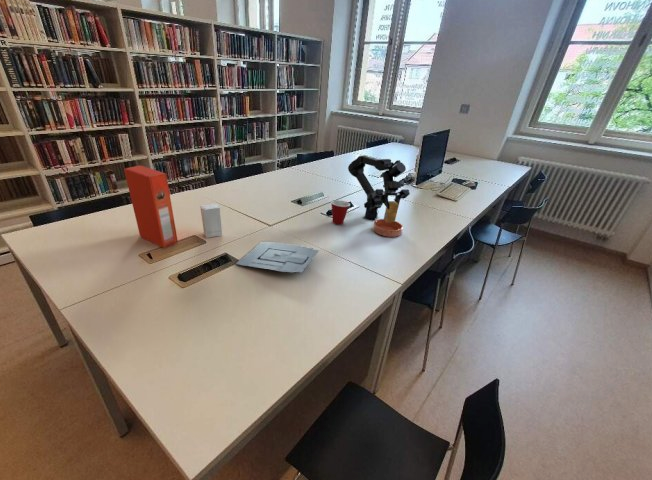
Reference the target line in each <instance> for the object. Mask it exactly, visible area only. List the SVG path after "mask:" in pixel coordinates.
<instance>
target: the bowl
mask: <svg viewBox="0 0 652 480" xmlns="http://www.w3.org/2000/svg"><path fill="white" fill-rule="evenodd" d="M372 230H373V232H374V233H375V234H377V235H380V236H382V237H383V236H384V237H389V238H395V237H399V236H401V235H402V233H403V224H401V222H399V221H397V220H395V222H386V221H385V220H384V218H379V219H375V220H374V221H373V225H372Z"/></svg>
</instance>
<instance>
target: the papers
mask: <svg viewBox="0 0 652 480" xmlns="http://www.w3.org/2000/svg"><path fill="white" fill-rule="evenodd" d="M319 251H320V249H314V248H313V247H307V246H304V245H298V244H293V243H292V244H291V243H283V242H276V241H263V240H261V241H260V242H259V243H258V244H257V245H256V246H254V248H253V249H252V250H251V251H250V252H248V253H247V254H246V255H245V256H243V257H242V258H240V259H239V260H238V261H236V262H235V265H239V266H244V267H252V268H258V269H265V270H271V271H276V272H281V273H286V272H287V273H291V274H292V273H294V272H296V273H303V272H304V271H305V269H306V268H307V267H308V265H309V264H310V263H311V262H312V260H313V259H314V258H315V257H316V255H317V254H318V253H319Z"/></svg>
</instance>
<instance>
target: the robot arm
mask: <svg viewBox="0 0 652 480" xmlns="http://www.w3.org/2000/svg"><path fill="white" fill-rule="evenodd" d="M366 165H368V166H371V167H373V168H375V169H376V170H377V171H379V172H382V173H381V174H380V175H379V177H380V178H382V179H383V180H382V181H383V185H382V186H383V187H382V188H376V189H374V187H373V186H372V184H371V183H370V180H368V177H367V176H366V175H365V168H366ZM406 170H407V167H406V165H405V164H404V163H403V162H402V161H401V160H400V159H398V160H395V161H394V162H393V161H392V160H391V158H376V157H372V156H369V155H367V154H365V155H363V154H362V155H359V156H358V157H356V158H355V159H354V160H353V161H351V162H350V163H349V165H348V167H347V171H348V173H349V174H350V175H351V176H352V177H354V178H356V179H357V182H358V183H359V185H360V186H361V189H362V190H363V191H364V193H365V195H366V201H365V202H364V204H363V207H364V208H365V212H364V213H365V214H364V216H363V218H364V219H366V220H371V221H376V220H377V218H378V217H379V216H378V215H379V209H381V208H382V206H383V205H384V206H385V208H386V207H387V209H389V202H388V201H389V196H392V197H393V196H394V199H393V201H396V202H397V203H398V204H399V206H400V202H401V200H403V199H406V198H407V197H408V196H410V195H411V191H410V190H409V189H405V188H404V189H403V188H402V187H405V180H404V179H399V180H396V179H395V178H398V177H399V176H400V175H402V174H403V173H405V172H406ZM383 188H384V189H383ZM399 189H401V190H400V191H399ZM399 206H398V208H399Z"/></svg>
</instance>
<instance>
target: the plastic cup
mask: <svg viewBox="0 0 652 480" xmlns="http://www.w3.org/2000/svg"><path fill="white" fill-rule="evenodd" d="M330 204H331V218H332V223H333V224H334V225H337V226H340V225H341V226H342V225H343V224H344V222H345V219H346V216H347V213H348V210H349V207H350V206H351V203H350V202H348V201H345V200H341V199H335V200H333V199H332V200H331V201H330Z"/></svg>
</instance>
